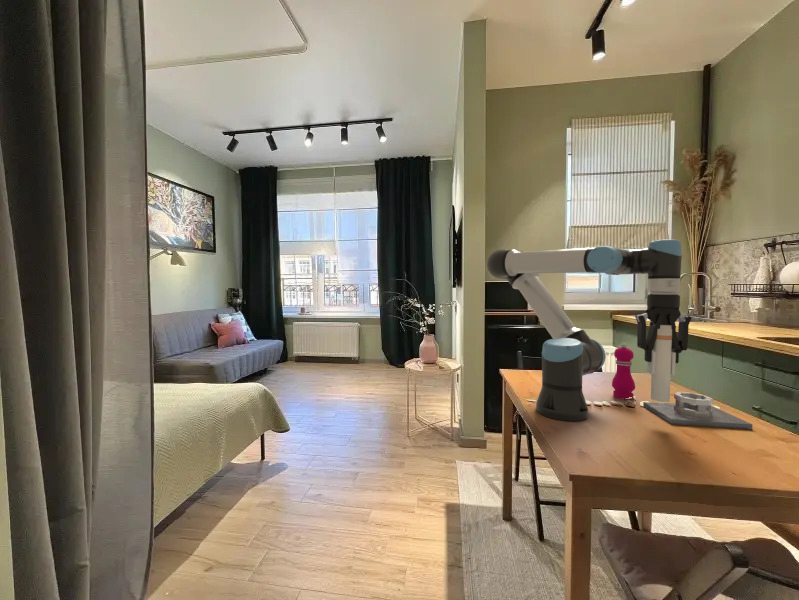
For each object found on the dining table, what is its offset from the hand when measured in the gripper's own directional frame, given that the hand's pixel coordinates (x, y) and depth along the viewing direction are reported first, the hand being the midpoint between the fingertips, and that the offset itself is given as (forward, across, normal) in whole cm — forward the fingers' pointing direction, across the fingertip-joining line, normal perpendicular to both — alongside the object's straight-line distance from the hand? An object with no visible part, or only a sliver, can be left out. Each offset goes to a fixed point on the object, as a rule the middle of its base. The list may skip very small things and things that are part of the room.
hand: (660, 373), depth 98 cm
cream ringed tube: (+8, 0, 0) cm, 8 cm away
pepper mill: (+15, +2, +27) cm, 31 cm away
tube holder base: (+15, +14, +9) cm, 22 cm away
